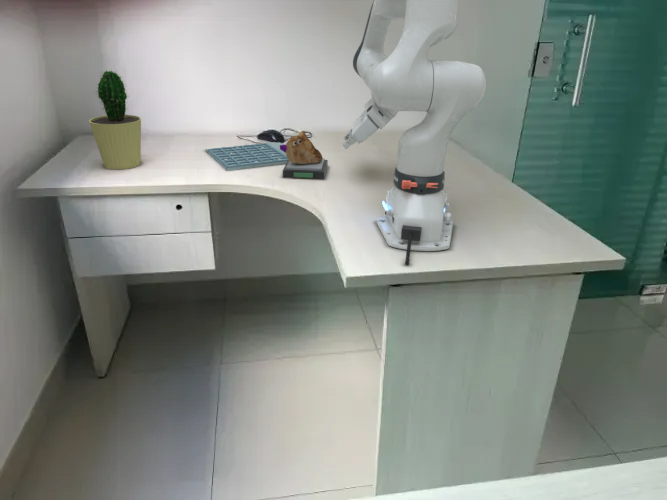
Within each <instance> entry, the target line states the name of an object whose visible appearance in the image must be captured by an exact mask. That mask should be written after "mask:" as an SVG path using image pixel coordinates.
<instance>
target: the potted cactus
mask: <svg viewBox="0 0 667 500" xmlns="http://www.w3.org/2000/svg"><path fill="white" fill-rule="evenodd" d="M100 73H102V74H100V75H98V76H99V77H100V78H99V82H98V83H97V84H95V85H97V90H94V91H93V93H96V97H97V99H98V100H101V101H100V103H99V104H100V105H102V106H103V108H102V111H105V112H104V113H105V115H101V116H96V117H92V118H90V119H89V120H88V122H89V123H90V124H89V125H90V128H91V130H92V134H93V137H94V140H95V143H96V146H97V149H98V152H99V155H100V158H101V161H102V164H103V166H104V168H105V169H109V170H126V169H128V170H129V169H132V168H136V167H138V166H140V165H141V160H142V159H141V156H142V155H141V154H142V153H141V152H142V151H141V149H142V147H141V146H142V118H141V117H140V116H139V115H133V114H127V113H126V111H129V109H128V110H127V108H129V106H127V101H128V99H129V98H130V97H131V95H129V93H128V91H127V89H126V87H127V86H126V84H125V83H124V80H122V76H121V73H120V74H119V73H117V72H116V71H112V68H111V69H110V70H104V71H102V70H101V72H100ZM127 93H128V94H127ZM126 100H127V101H126Z"/></svg>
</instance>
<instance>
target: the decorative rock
mask: <svg viewBox="0 0 667 500" xmlns="http://www.w3.org/2000/svg"><path fill="white" fill-rule="evenodd" d="M285 145H286V146H287V150H286V156H287V158H288V159H289V161H290V162H292V163H297V164H308V163H321V162H322V159H323V158H324V157H323V154H322V153H321V152H320V151H319V149H317V148H316V147H315V146H314V144H313V142H312V141H311V140H310V139H309V138H308V136H307V134H306V132H305V131H304V130H302V131H300V132H299V133H298V134H297V135H295V136H291V138H289V139H288V140H287V142H286V143H285Z"/></svg>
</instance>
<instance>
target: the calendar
mask: <svg viewBox="0 0 667 500" xmlns="http://www.w3.org/2000/svg"><path fill="white" fill-rule="evenodd" d="M286 150H287V146H286V144H284V143H283V142H280V141H278V142H275V141H271V142H264V143H254V144H244V145H234V146H222V147H213V148H205V151H206V152H207V153H208V154H209V155H210V156H211V157H212V158H213V159H214V160H215V161H216V162H217V163H219V164H220V165H221V166H222V168H224V169H225V170H226V171H235V170H245V169H252V168H253V169H254V168H262V167H269V166H270V167H271V166H277V165H278V166H279V165H286V163H287V161H288V160H289V159H288V158H287V156H286Z"/></svg>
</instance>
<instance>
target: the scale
mask: <svg viewBox="0 0 667 500" xmlns="http://www.w3.org/2000/svg"><path fill="white" fill-rule="evenodd" d="M322 158H323V159H322V162H321V163H308V164H297V163H292V162H290V161H289V160H288V161H287V163H286V164H284V167H283V169H282V178H284V179H304V180H305V179H307V180H325V177H326V174H327V170H328V166H329V164H328V163H329V161H328V159H325V158H324V157H322Z"/></svg>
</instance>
